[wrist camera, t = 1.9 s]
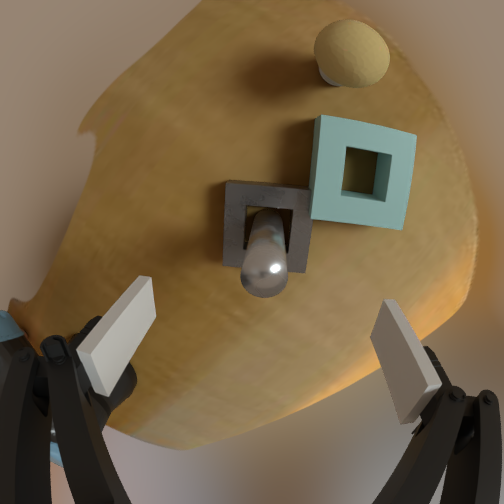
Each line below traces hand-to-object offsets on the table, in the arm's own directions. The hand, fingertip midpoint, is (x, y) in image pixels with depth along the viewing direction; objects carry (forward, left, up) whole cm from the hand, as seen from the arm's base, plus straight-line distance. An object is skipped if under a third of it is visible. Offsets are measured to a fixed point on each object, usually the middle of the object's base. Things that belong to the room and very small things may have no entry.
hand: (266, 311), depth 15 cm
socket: (+9, +7, -17) cm, 20 cm away
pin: (0, 0, -17) cm, 17 cm away
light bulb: (+6, +18, -17) cm, 25 cm away
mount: (0, 0, -17) cm, 17 cm away
